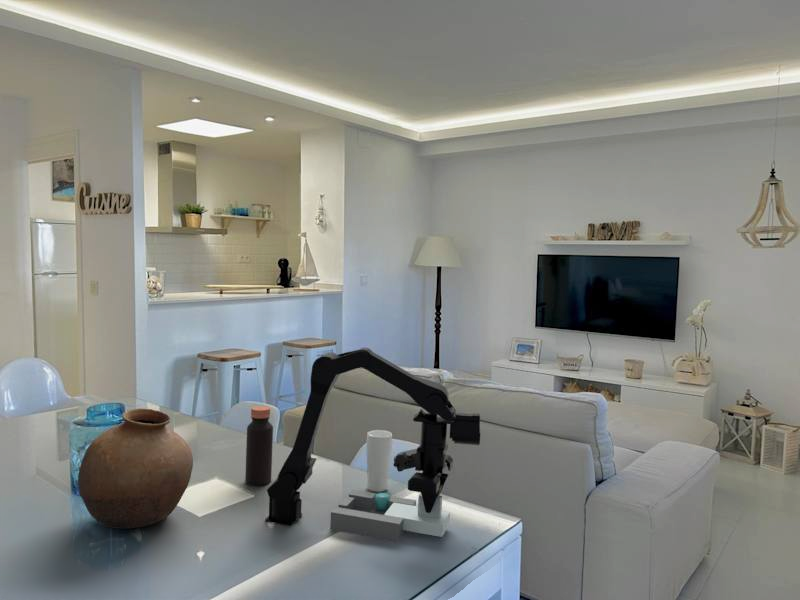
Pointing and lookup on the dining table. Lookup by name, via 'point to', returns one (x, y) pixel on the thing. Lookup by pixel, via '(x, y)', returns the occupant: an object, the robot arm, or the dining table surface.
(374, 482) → the drinking glass
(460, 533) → the dining table surface
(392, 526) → the filter housing
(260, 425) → the bottle
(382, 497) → the teal egg-shaped capsule
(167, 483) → the pottery
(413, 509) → the white stepped block
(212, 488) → the dining table surface
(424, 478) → the robot arm
